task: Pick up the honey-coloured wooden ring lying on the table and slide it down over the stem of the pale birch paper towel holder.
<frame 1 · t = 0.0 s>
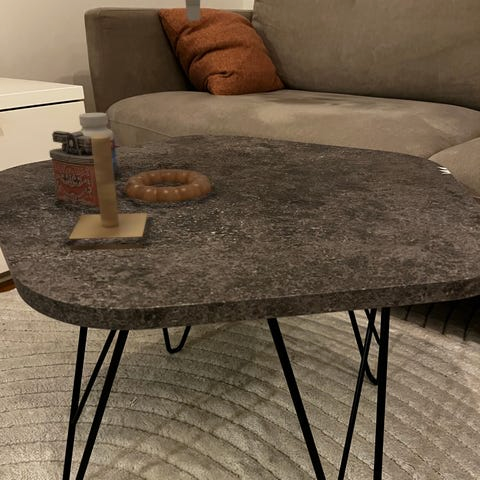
hand: (193, 19, 81), 22 cm above the table, tool pointing down, fingers open, 8 cm apart
pill bottle: (100, 182, 91), on the table
lighter: (83, 211, 78), on the table
paper towel holder: (111, 236, 69), on the table
ring: (167, 188, 82), point 1 cm above the table
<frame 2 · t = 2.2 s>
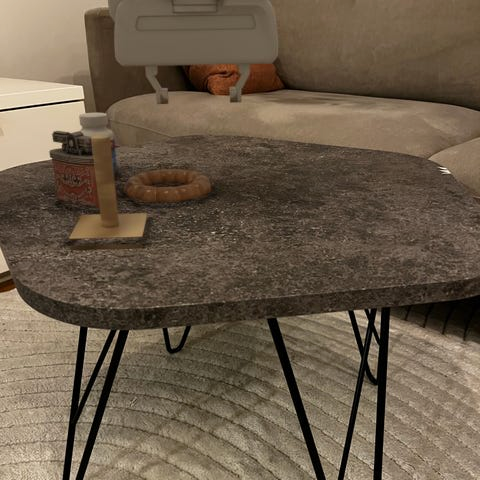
hand: (199, 102, 77), 13 cm above the table, tool pointing down, fingers open, 8 cm apart
nothing on the table moved.
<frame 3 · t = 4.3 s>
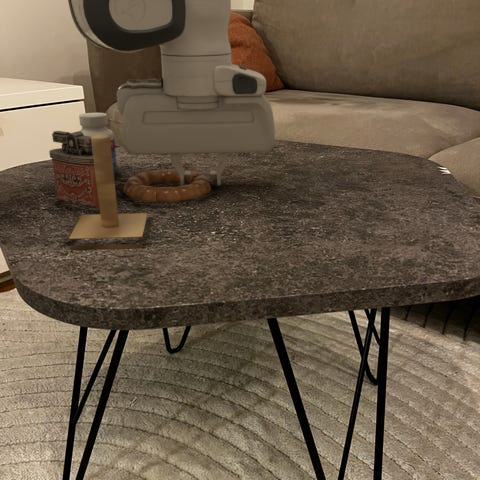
hand: (200, 185, 82), 2 cm above the table, tool pointing down, fingers closed on ring, 3 cm apart
ring: (167, 188, 82), point 1 cm above the table, touching gripper
everything else where it was.
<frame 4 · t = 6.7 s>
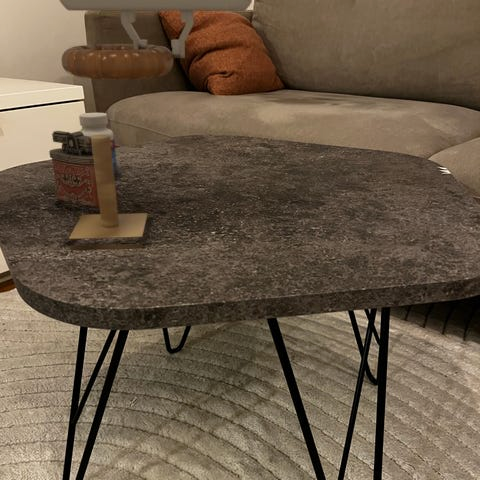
hand: (160, 57, 66), 19 cm above the table, tool pointing down, fingers closed on ring, 3 cm apart
ring: (118, 60, 65), point 18 cm above the table, touching gripper
everything else where it was.
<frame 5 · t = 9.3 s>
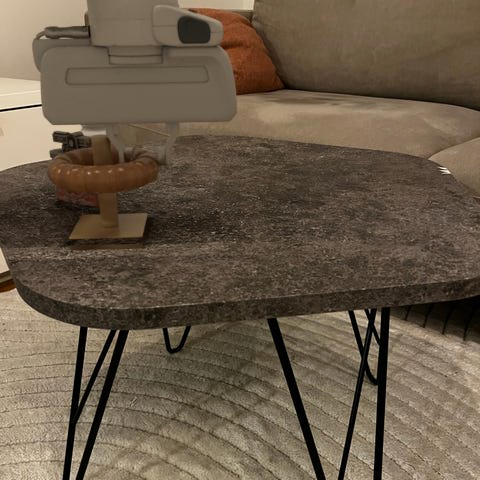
hand: (146, 164, 65), 8 cm above the table, tool pointing down, fingers closed on ring, 3 cm apart
ring: (104, 168, 65), point 8 cm above the table, touching gripper
everything else where it was.
when the fingers open (8 cm above the table, at t = 9.5 s): ring drops 5 cm, resting on paper towel holder.
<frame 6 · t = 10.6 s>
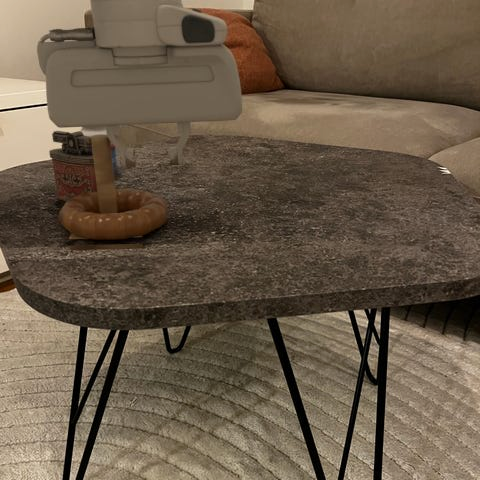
hand: (152, 165, 65), 8 cm above the table, tool pointing down, fingers open, 4 cm apart
ring: (114, 212, 68), point 3 cm above the table, touching paper towel holder
everything else where it was.
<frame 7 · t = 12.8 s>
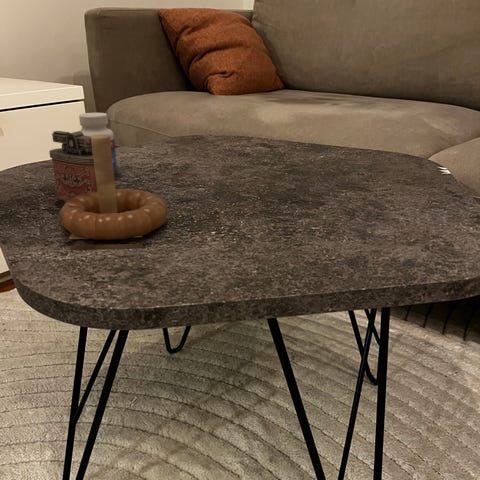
nothing on the table moved.
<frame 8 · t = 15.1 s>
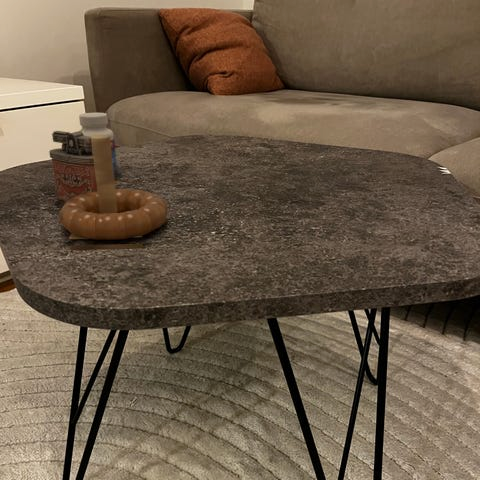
nothing on the table moved.
at the end: ring 0.6 cm from the paper towel holder (horizontally); ring point 2.9 cm above the table; the gripper is holding nothing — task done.
